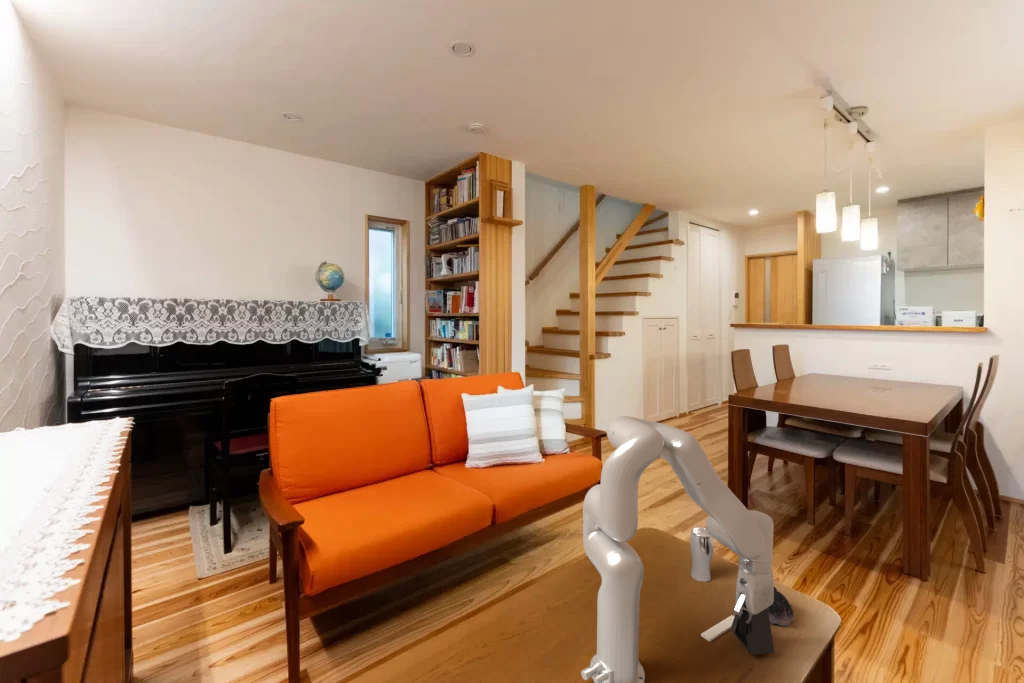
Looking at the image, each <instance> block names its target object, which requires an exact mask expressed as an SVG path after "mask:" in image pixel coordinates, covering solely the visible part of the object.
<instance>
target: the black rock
mask: <svg viewBox="0 0 1024 683" xmlns="http://www.w3.org/2000/svg"><path fill="white" fill-rule="evenodd" d="M768 615H769V621H770V625H778V626H781V627H783V626H784V627H786V626H789V625H791V622H793V621H794V610H793V609H792V605H791V604H790V602H789V600H788V599H787V598H786V596H785V595H784V594H782V593H781V592H780V591H778V589H777V588H776V587H775V586H774V602H773V604H772V605H771V606H769V607H768Z"/></svg>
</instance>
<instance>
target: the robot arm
mask: <svg viewBox="0 0 1024 683" xmlns="http://www.w3.org/2000/svg"><path fill="white" fill-rule="evenodd" d="M606 434H607V439H608V440H609V443H610V444H611V446H613V447H614V448H615V450H614V451H613V452H612V453H610V455H609V456H608V457H607V458H606V460H605V461H604V463H603V466H602V469H601V473H600V484H596V485H594V486H592V487H591V488H589V490H588V491H587V492H586V494H585V497H584V499H583V504H582V540H583V542H582V543H583V549H584V553H585V554H586V556H587V558H588V560H590V562H591V564H592V565H593V566H594V567H595V568H596V571H597V573H599V575H600V578H601V582H600V583H601V585H600V586H599V589H598V592H597V603H596V604H597V606H596V609H597V610H596V612H597V615H596V616H597V617H596V618H597V620H596V621H597V622H596V628H597V629H596V654H594V655H593V656H592V658H591V660H590V663H589V666H588V667H586V668H584V669H582V670H581V671H580V674H581V678H582V679H583V680H584V681H587V680H589V679H590V678H591V679H592V680H593V683H645V681H646V674H645V670H644V668H643V665H642V664H641V663H640V661H639V644H640V643H639V642H640V641H639V639H640V638H639V637H640V636H639V634H640V633H639V632H640V628H639V627H640V597H641V596H640V595H641V590H642V584H643V580H644V576H645V569H644V568H645V567H644V565H643V564H644V563H643V561H642V559H641V557H640V556H639V554H638V553H637V551H636V550H635V549H634V548H633V547H632V546H631V545H630V544H629V543H628V541H631V540H632V539H633V537H634V536H635V535H636V533H637V530H638V525H639V482H640V479H641V476H642V474H643V473H644V472H645V471H646V469H647V468H648V467H649V466H651V465H652V464H653V463H654V462H655V461H657V460H658V459H660V458H661V459H662V460H664V461H666V462H667V463H668V464H669V466H670V467H671V469H672V471H673V472H674V474H675V475H676V477H677V478H678V481H679V483H680V484H681V485H682V487H683V489H684V491H685V492H686V494H687V495H688V496H689V497H690V498H691V499H692V501H693V502H694V503H695V504H696V505H698V507H700V508H701V509H702V511H704V512H706V513H707V514H708V517H707V518H706V520H705V528H707V531H708V532H709V534H710V535H711V536H712V537H713V540H716V541H717V542H719V543H720V544H721V545H722V546H725V547H726V548H728V549H729V550H730V551H731V552H733V553H734V554H736V555H737V558H738V559H737V560H738V561H737V563H738V564H737V565H738V566H739V567H738V571H737V577H736V585H735V604H736V605H735V606H734V609H733V612H734V615H735V614H736V615H737V617H738V618H739V622H738V631H739V633H741V634H742V635H744V636H746V637H747V629H748V627H749V630H750V633H751V632H752V623H751V618H752V614H753V615H755V614H758V613H760V612H761V611H763V610H765V609H766V608H768V607H769V606H771V605H772V604H773V602H774V587H775V586H774V572H773V553H774V552H773V549H774V548H773V547H774V528H775V527H774V521H773V520H774V519H772V517H771V516H769V515H768V514H767V513H764V512H762V511H759V510H752V509H751V510H749V509H748V508H747V507H746V506H745V504H743V502H741V500H740V499H739V498H738V497H737V496H736V494H734V492H732V490H731V489H730V488H729V487H728V486H727V484H725V482H724V481H722V479H721V478H720V476H719V474H718V472H717V471H716V469H715V467H714V466H713V464H712V462H711V461H710V459H709V457H708V456H707V454H706V452H705V450H704V449H703V447H702V446H701V444H700V442H699V440H698V439H697V438H696V437H695V436H694V435H693V434H691V433H690V432H687V431H684V429H683V430H682V429H680V428H677V427H676V426H672V425H669V424H666V423H663V422H657V421H652V420H647V419H643V418H638V417H634V416H629V415H621V416H617V417H616V418H613V420H612V421H610V423H609V424H608V426H607V432H606ZM745 604H746V607H747V608H745V606H744V605H745ZM743 610H745V611H747V612H748V615H747V616H746V615H745V614H743Z"/></svg>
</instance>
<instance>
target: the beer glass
mask: <svg viewBox="0 0 1024 683" xmlns="http://www.w3.org/2000/svg"><path fill="white" fill-rule="evenodd" d="M690 531H691V532H690V538H689V540H690V541H689V543H690V544H689V547H690V555H691V561H692V563H691V564H692V566H691V572H690V575H691V577H692V579H694V580H696V581H697V582H701V581H703V583H707V581H708V582H711V580H712V574H711V563H712V559H713V554H714V538H713V537H712V536H711V535H710V534H709V532H708V531H707V528H706V527H702V526H694V527H692V528H691V529H690Z"/></svg>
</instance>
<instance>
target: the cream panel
mask: <svg viewBox="0 0 1024 683" xmlns="http://www.w3.org/2000/svg"><path fill="white" fill-rule="evenodd" d="M734 617H735V615H734V614H731V615H730V616H728V617H726V618H725V619H723V620H721V621H720V622H717V623H716V624H714V625H713V626H711V627H710V628H708V629H707V630H705V631H703V632H701V633H700V636H701V637H702V638H704V639H705V640H706V641H708V642H712V641H714V640H715V639H716V638H718V637H719V636H721V635H722V634H724V633H726V632H727V631H729V630H731V626H732V623H733V620H734Z"/></svg>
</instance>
